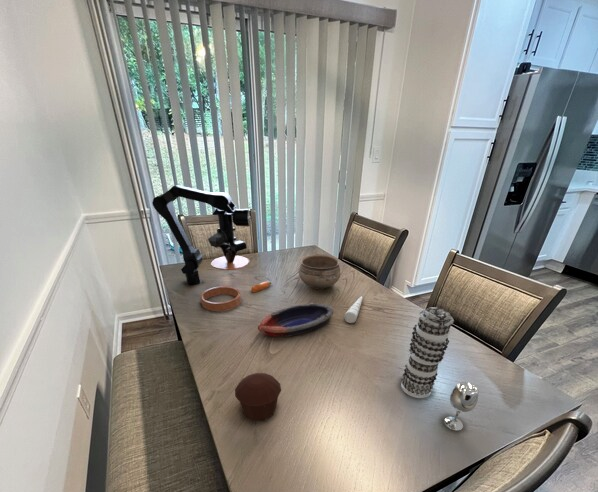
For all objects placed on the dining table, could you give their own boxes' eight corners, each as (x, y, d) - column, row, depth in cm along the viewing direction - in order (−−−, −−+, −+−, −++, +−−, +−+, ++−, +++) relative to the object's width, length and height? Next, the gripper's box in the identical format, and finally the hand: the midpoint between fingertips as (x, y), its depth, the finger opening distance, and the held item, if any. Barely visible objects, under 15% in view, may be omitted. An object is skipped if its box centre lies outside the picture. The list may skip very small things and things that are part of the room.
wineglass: (437, 415, 84) (449, 380, 77) (458, 414, 84) (472, 379, 78) (447, 433, 79) (462, 397, 72) (470, 431, 79) (486, 396, 73)
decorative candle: (396, 376, 97) (413, 302, 83) (427, 377, 96) (449, 303, 83) (403, 398, 89) (423, 321, 75) (437, 399, 89) (463, 322, 75)
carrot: (253, 294, 142) (254, 289, 140) (249, 291, 143) (250, 285, 141) (272, 287, 149) (273, 281, 147) (267, 283, 150) (268, 278, 148)
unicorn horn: (370, 298, 139) (371, 288, 136) (355, 325, 121) (356, 314, 118) (359, 296, 141) (360, 286, 138) (343, 322, 123) (344, 311, 120)
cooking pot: (351, 292, 144) (354, 266, 137) (315, 301, 136) (316, 274, 130) (322, 273, 162) (323, 249, 156) (288, 280, 155) (288, 255, 148)
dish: (342, 325, 120) (343, 314, 118) (266, 347, 108) (265, 335, 106) (320, 308, 132) (321, 297, 129) (249, 325, 120) (248, 314, 117)
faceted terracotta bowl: (194, 303, 134) (193, 294, 132) (225, 291, 144) (224, 283, 142) (217, 316, 125) (216, 307, 123) (248, 302, 135) (247, 294, 133)
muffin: (243, 430, 79) (239, 401, 74) (232, 400, 88) (228, 372, 82) (288, 416, 83) (287, 387, 78) (273, 388, 92) (272, 361, 86)
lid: (203, 264, 144) (202, 253, 142) (233, 255, 155) (232, 244, 152) (226, 274, 135) (225, 263, 132) (256, 264, 145) (256, 253, 143)
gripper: (196, 225, 136) (202, 260, 144) (223, 234, 125) (228, 271, 134) (218, 220, 143) (222, 254, 151) (246, 228, 132) (248, 264, 141)
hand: (230, 261), depth 144 cm, fingers closed on lid, 3 cm apart
